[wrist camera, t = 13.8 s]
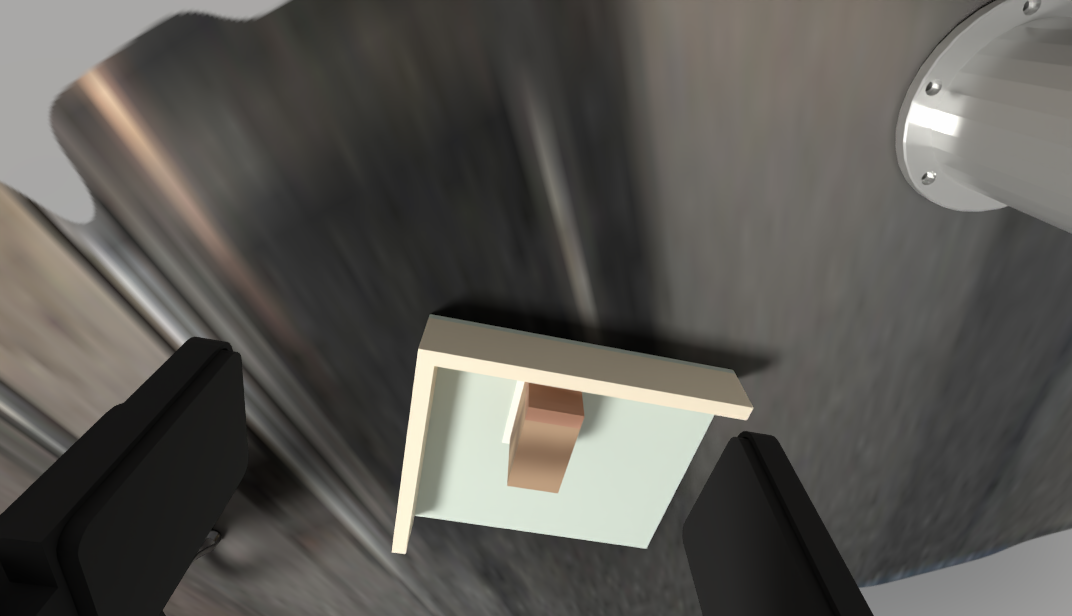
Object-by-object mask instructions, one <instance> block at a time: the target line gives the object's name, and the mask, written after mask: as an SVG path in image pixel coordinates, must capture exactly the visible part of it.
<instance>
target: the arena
mask: <svg viewBox="0 0 1072 616" xmlns="http://www.w3.org/2000/svg"><path fill="white" fill-rule="evenodd" d="M524 382H529V383H535V384H541V385H546V386H552V387H558V388H564V389H569V390H575V391H581V392H582V398H583V407H584V415H585V417H584V420H583V422H582V425H581V428H580V431H579V434H578V437H577V440H576V443H575V446H574V449H573V451H572V454H571V457H570V460H569V463H568V466H567V469H566V472H565V475H564V478H563V480H562V483H561V486H560V489H559V492H558V493H551V492H545V491H538V490H531V489H525V488H518V487H511V486H507V478H508V461H509V444H510V436H511V432H512V429H513V425H514V421H515V417H516V413H517V409H518V405H519V402H520V398H521V394H522V390H523V386H524ZM752 410H753V406H752V404H751V402H750V400H749V399H748V397H747V395H746V393H745V391H744V389H743V387H742V385H741V383H740V382H739V380H738V378H737V376H736V374H735V372H734V370H731V369H725V368H720V367H715V366H709V365H704V364H698V363H693V362H687V361H682V360H677V359H671V358H666V357H660V356H655V355H649V354H644V353H639V352H633V351H628V350H622V349H617V348H611V347H606V346H601V345H595V344H590V343H584V342H579V341H573V340H568V339H563V338H557V337H552V336H546V335H541V334H536V333H530V332H525V331H519V330H514V329H508V328H503V327H498V326H492V325H487V324H481V323H476V322H470V321H465V320H460V319H454V318H449V317H443V316H438V315H432V314H430V316H429V319H428V322H427V325H426V328H425V331H424V334H423V337H422V340H421V343H420V346H419V349H418V356H417V363H416V371H415V379H414V386H413V394H412V402H411V409H410V417H409V425H408V432H407V440H406V447H405V455H404V463H403V470H402V478H401V486H400V493H399V501H398V509H397V516H396V524H395V531H394V539H393V547H392V552H395V553H402V554H406V550H407V546H408V542H409V537H410V533H411V529H412V525H413V520H414V516H422V517H429V518H436V519H443V520H450V521H457V522H464V523H471V524H478V525H485V526H492V527H499V528H506V529H513V530H520V531H527V532H534V533H541V534H548V535H555V536H562V537H569V538H576V539H583V540H590V541H597V542H604V543H611V544H618V545H625V546H632V547H639V548H647V546H648V544H649V542H650V540H651V538H652V537H653V535H654V533H655V531H656V529H657V527H658V525H659V523H660V521H661V519H662V517H663V515H664V513H665V511H666V509H667V507H668V505H669V503H670V501H671V499H672V497H673V495H674V493H675V491H676V489H677V487H678V486H679V484H680V482H681V480H682V478H683V476H684V474H685V472H686V470H687V468H688V466H689V464H690V462H691V460H692V458H693V456H694V454H695V452H696V450H697V448H698V446H699V444H700V442H701V440H702V438H703V436H704V435H705V433H706V431H707V429H708V427H709V425H710V423H711V421H712V419H713V417H714V415H719V416H725V417H730V418H736V419H742V420H747V419H748V417H749V415H750V413H751V412H752Z"/></svg>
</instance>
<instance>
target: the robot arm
mask: <svg viewBox="0 0 1072 616" xmlns="http://www.w3.org/2000/svg"><path fill="white" fill-rule="evenodd" d="M895 149H896V154H897V159H898V164H899V167H900V169H901V171H902V173H903V175H904V177H905V179H906V181H907V182H908V183H909V184H910V185H911V187H912V188H913V189H914V190H915V191H916V192H917V193H919V194H920V195H922V196H923V197H925V198H926V199H928V200H929V201H932V202H934V203H936V204H938V205H940V206H942V207H944V208H949V209H953V210H957V211H969V212H981V211H988V210H995V209H1000V208H1003V207H1007V206H1010V207H1012V208H1015V209H1017V210H1019V211H1022V212H1024V213H1026V214H1028V215H1031V216H1033V217H1035V218H1037V219H1040V220H1042V221H1044V222H1047V223H1049V224H1051V225H1053V226H1056V227H1058V228H1060V229H1062V230H1065V231H1067V232H1069V233H1071V234H1072V0H996V1H994V2H992V3H990V4H989V5H987V6H985V7H983V8H981V9H980V10H978V11H977V12H975V13H974V14H973V15H971V16H970V17H969V18H967V19H966V20H965V21H963V22H962V23H961V24H959V25H958V26H957V27H956V28H955V29H954V30H953V31H952V32H951V33H950V34H949V35H948V36H947V37H946V38H945V39H944V40H943V41H942V42H941V43H940V44H939V45H938V46H937V47H936V48H935V49H934V51H933V52H932V53H931V54H930V56H929V57H928V58H927V60H926V61H925V62H924V63H923V65H922V66H921V68H920V69H919V71H918V73H917V75H916V76H915V78H914V80H913V81H912V83H911V85H910V87H909V89H908V91H907V94H906V96H905V99H904V101H903V104H902V106H901V109H900V113H899V118H898V122H897V127H896V148H895ZM248 459H249V455H248V442H247V428H246V414H245V401H244V387H243V373H242V359H241V355H240V353H238V352H233V350H232V346H231V345H230V343H228V342H223V341H218V340H212V339H206V338H200V337H192V338H190V339H189V340H187V341H186V342H185V343H184V344H183V345H182V346H181V347H180V348H179V349H178V350H177V351H176V352H175V353H174V354H173V355H172V356H171V357H170V358H169V359H168V360H167V361H166V362H165V363H164V364H163V365H162V366H161V367H160V368H159V369H158V370H157V371H156V372H155V373H154V374H153V375H152V376H151V377H150V378H149V379H148V380H147V381H145V382H144V383H143V384H142V385H141V386H140V387H139V388H138V389H137V390H136V391H135V392H134V393H133V394H132V395H131V396H130V397H129V398H128V399H127V400H126V401H125V402H124V403H122V404H119V405H116V406H114V407H113V408H112V409H110V410H109V411H108V412H107V413H106V414H104V415H103V416H102V417H101V418H100V419H99V420H98V421H97V422H96V423H95V424H94V425H93V426H92V427H91V428H90V429H89V430H88V431H87V432H86V433H85V434H84V435H83V436H82V437H81V438H80V439H79V440H78V441H77V442H76V443H74V444H73V445H72V446H71V447H70V448H69V449H68V450H67V451H66V452H65V453H64V454H63V455H62V456H61V457H60V458H59V459H58V460H57V461H56V462H55V463H54V464H53V465H52V466H51V467H50V468H49V469H48V470H47V471H45V472H44V473H43V474H42V475H41V476H40V477H39V478H38V479H37V480H36V481H35V482H34V483H33V484H32V485H31V486H30V487H29V488H28V489H27V490H26V491H25V492H24V493H23V494H22V495H21V496H20V497H19V498H18V499H17V500H15V501H14V502H13V503H12V504H11V505H10V506H9V507H8V508H7V509H6V510H5V511H4V512H3V513H2V514H1V515H0V616H159V614H160V613H161V611H162V610H163V608H164V606H165V605H166V603H167V601H168V600H169V598H170V596H171V595H172V593H173V592H174V590H175V588H176V587H177V585H178V583H179V582H180V580H181V578H182V577H183V575H184V574H185V572H186V570H187V569H188V567H189V565H190V564H191V562H192V560H193V559H194V557H195V555H196V554H197V552H198V551H199V549H200V547H201V546H202V544H203V542H204V541H205V539H206V537H207V536H208V534H209V533H210V531H211V529H212V528H213V526H214V524H215V523H216V521H217V519H218V518H219V516H220V515H221V513H222V511H223V510H224V508H225V506H226V505H227V503H228V501H229V500H230V498H231V497H232V495H233V493H234V492H235V490H236V488H237V487H238V485H239V483H240V482H241V480H242V478H243V476H244V474H245V472H246V469H247V466H248ZM682 537H683V544H684V547H685V551H686V555H687V558H688V562H689V566H690V570H691V573H692V577H693V581H694V584H695V588H696V592H697V595H698V599H699V603H700V607H701V610H702V614H703V616H874V615H873V614H872V612H871V610H870V608H869V606H868V604H867V603H866V601H865V599H864V597H863V595H862V594H861V592H860V590H859V588H858V586H857V584H856V582H855V581H854V579H853V577H852V575H851V573H850V571H849V570H848V568H847V566H846V564H845V562H844V560H843V559H842V557H841V555H840V553H839V551H838V549H837V548H836V546H835V544H834V542H833V540H832V538H831V537H830V535H829V533H828V531H827V529H826V527H825V526H824V524H823V522H822V520H821V518H820V516H819V515H818V513H817V511H816V509H815V507H814V505H813V504H812V502H811V500H810V498H809V496H808V494H807V493H806V491H805V489H804V487H803V485H802V483H801V482H800V480H799V478H798V476H797V474H796V473H795V471H794V469H793V467H792V465H791V463H790V462H789V460H788V458H787V456H786V454H785V452H784V451H783V449H782V447H781V445H780V443H779V441H778V440H777V439H776V438H775V437H774V436H771V435H766V434H760V433H754V432H748V431H743V432H742V433H740V434H739V436H738V437H733V438H731V439H730V441H729V442H728V444H727V446H726V448H725V449H724V451H723V453H722V455H721V457H720V459H719V460H718V462H717V464H716V466H715V468H714V470H713V471H712V473H711V475H710V477H709V479H708V481H707V482H706V484H705V486H704V488H703V490H702V492H701V493H700V495H699V497H698V499H697V501H696V503H695V504H694V506H693V508H692V510H691V512H690V514H689V515H688V517H687V519H686V521H685V523H684V526H683V533H682Z"/></svg>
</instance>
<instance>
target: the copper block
mask: <svg viewBox="0 0 1072 616" xmlns="http://www.w3.org/2000/svg"><path fill="white" fill-rule="evenodd" d="M584 417H585V415H584V407H583V398H582V392H581V391H575V390H569V389H564V388H558V387H552V386H546V385H541V384H535V383H529V382H524V386H523V390H522V394H521V398H520V402H519V405H518V409H517V413H516V417H515V421H514V425H513V429H512V432H511V436H510V444H509V461H508V478H507V486H511V487H518V488H525V489H531V490H538V491H545V492H551V493H558V492H559V489H560V486H561V483H562V480H563V478H564V475H565V472H566V469H567V466H568V463H569V460H570V457H571V454H572V451H573V449H574V446H575V443H576V440H577V437H578V434H579V431H580V428H581V425H582V422H583V420H584Z"/></svg>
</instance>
